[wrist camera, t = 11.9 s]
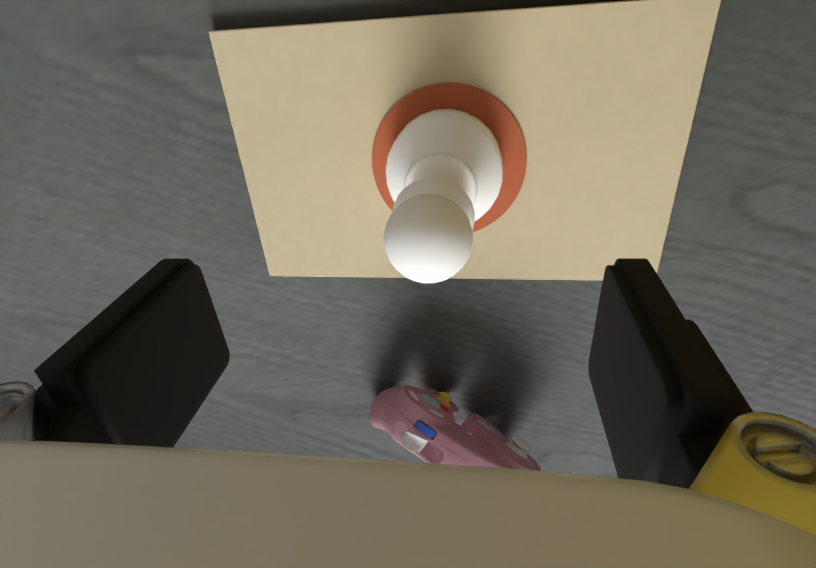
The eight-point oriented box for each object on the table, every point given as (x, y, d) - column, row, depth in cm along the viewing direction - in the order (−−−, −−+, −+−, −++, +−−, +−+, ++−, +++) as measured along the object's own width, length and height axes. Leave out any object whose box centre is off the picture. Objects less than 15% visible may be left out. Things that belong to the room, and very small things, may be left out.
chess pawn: (476, 230, 23) (472, 348, 15) (378, 195, 23) (324, 297, 15) (521, 131, 20) (542, 212, 13) (410, 90, 20) (363, 148, 12)
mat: (213, 30, 20) (206, 31, 20) (717, -7, 17) (724, -7, 17) (272, 271, 27) (268, 277, 26) (652, 276, 23) (656, 282, 23)
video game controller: (522, 420, 32) (567, 478, 25) (485, 476, 32) (521, 548, 25) (398, 349, 30) (411, 390, 23) (361, 408, 30) (362, 466, 24)
